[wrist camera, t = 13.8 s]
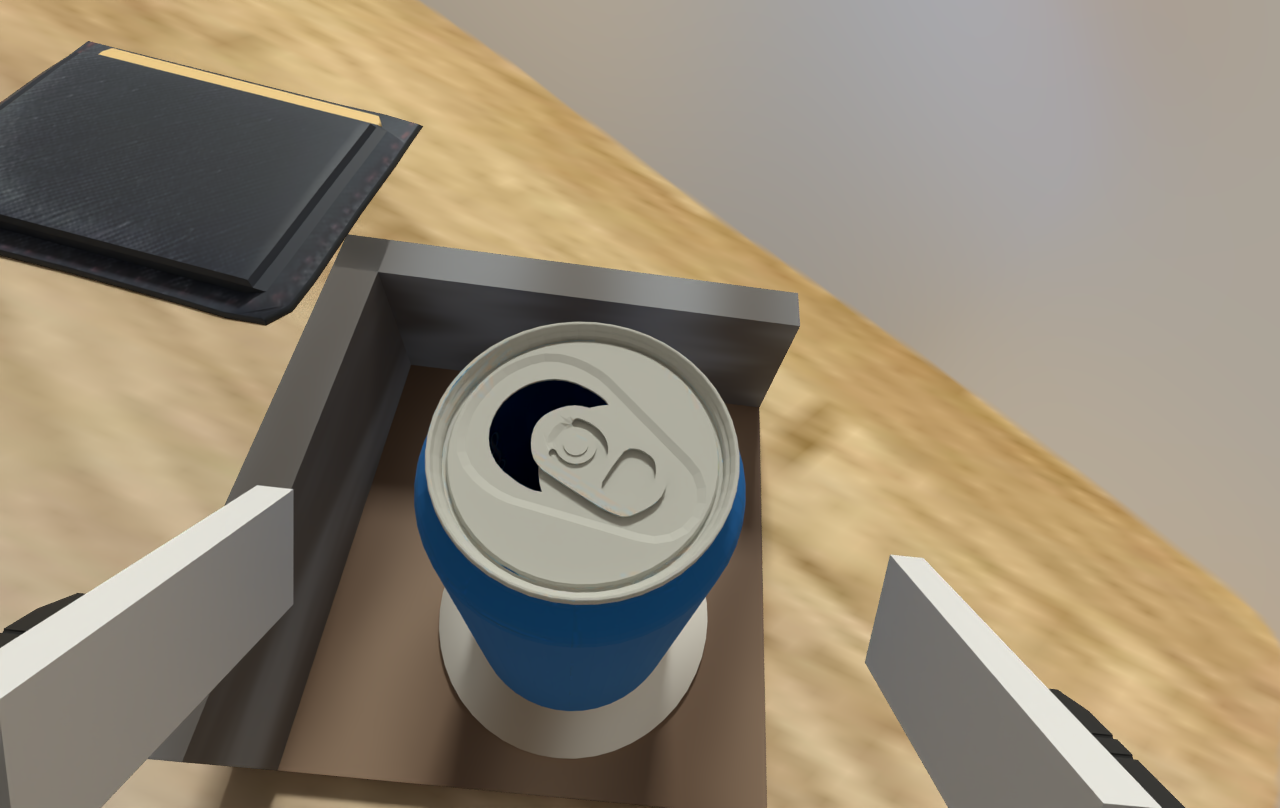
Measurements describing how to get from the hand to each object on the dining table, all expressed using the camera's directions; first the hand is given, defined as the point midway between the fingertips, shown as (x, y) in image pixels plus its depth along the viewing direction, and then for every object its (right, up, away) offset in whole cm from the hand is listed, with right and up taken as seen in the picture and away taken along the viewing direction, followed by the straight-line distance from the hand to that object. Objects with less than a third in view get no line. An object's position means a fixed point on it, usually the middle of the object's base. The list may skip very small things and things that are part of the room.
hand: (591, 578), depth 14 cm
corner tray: (-2, -1, +9) cm, 10 cm away
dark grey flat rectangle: (-22, +15, +18) cm, 32 cm away
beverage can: (-1, -3, +8) cm, 8 cm away
